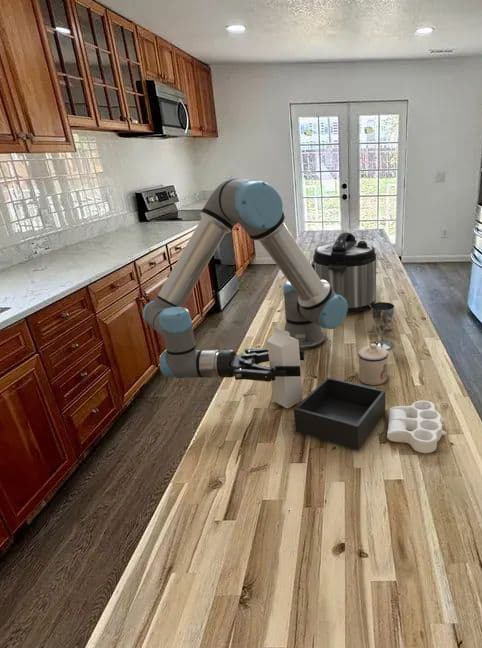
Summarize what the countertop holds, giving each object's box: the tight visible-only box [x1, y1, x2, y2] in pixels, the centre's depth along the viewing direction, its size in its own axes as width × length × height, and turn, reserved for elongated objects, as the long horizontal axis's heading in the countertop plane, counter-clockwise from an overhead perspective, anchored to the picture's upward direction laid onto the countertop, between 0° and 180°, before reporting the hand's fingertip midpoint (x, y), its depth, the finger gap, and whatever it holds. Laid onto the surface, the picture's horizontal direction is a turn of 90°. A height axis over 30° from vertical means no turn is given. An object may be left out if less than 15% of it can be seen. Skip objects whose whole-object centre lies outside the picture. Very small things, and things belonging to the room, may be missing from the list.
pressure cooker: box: [310, 231, 377, 314], centre depth 188 cm, size 30×28×32 cm
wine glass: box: [370, 301, 395, 350], centre depth 153 cm, size 8×8×15 cm
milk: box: [266, 326, 304, 409], centre depth 119 cm, size 6×6×22 cm
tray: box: [293, 376, 387, 451], centre depth 113 cm, size 18×18×7 cm
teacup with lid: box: [357, 343, 389, 386], centre depth 134 cm, size 12×9×12 cm
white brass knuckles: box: [386, 400, 448, 454], centre depth 110 cm, size 3×18×15 cm
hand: (302, 363), depth 118 cm, fingers closed on milk, 8 cm apart
